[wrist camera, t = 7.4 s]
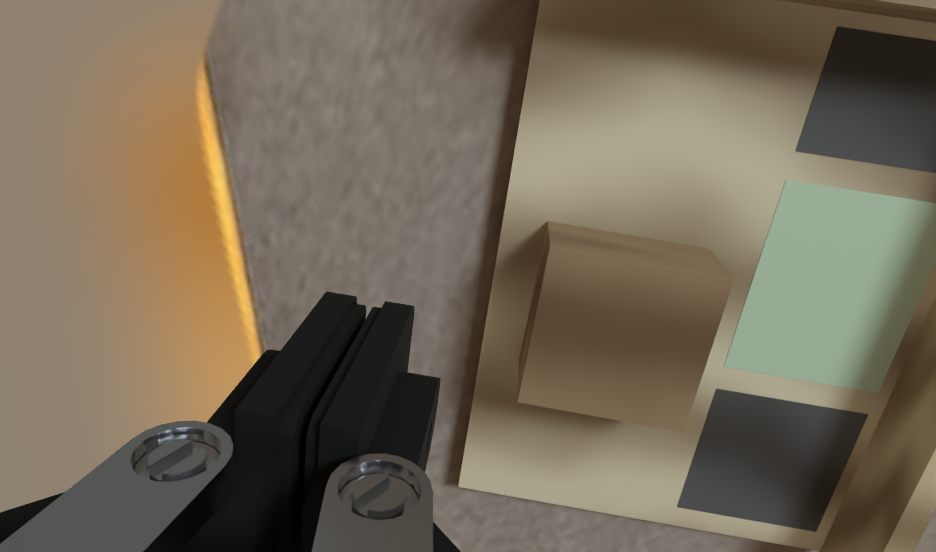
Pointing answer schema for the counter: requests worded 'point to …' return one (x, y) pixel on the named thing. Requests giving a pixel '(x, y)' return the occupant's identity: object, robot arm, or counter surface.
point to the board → (734, 243)
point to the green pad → (835, 286)
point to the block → (620, 326)
